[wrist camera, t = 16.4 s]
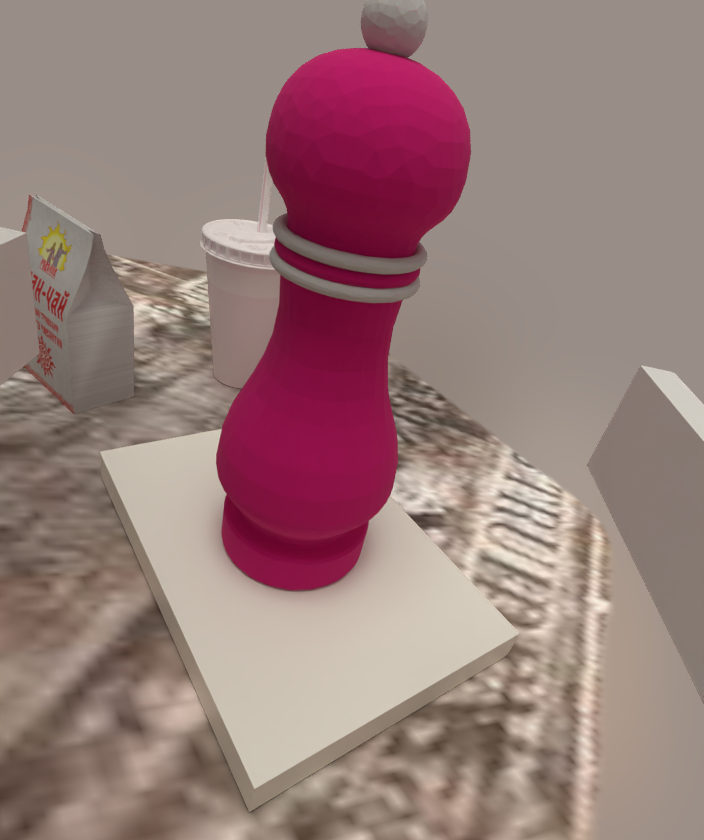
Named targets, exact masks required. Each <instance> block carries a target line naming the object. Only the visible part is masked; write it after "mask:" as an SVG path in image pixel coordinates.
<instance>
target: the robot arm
mask: <svg viewBox="0 0 704 840" xmlns="http://www.w3.org/2000/svg"><path fill="white" fill-rule="evenodd" d="M39 353H40V351H39V342H38V333H37V324H36V314H35V305H34V296H33V287H32V277H31V268H30V259H29V250H28V240H27V233H25V232H20V231H16V230H11V229H6V228H2V227H0V385H1V384H2V383H4V382H5V381H6V380H7V379H9V378H10V377H11V376H12V375H14V374H15V373H16V372H17V371H18V370H20V369H21V368H22V367H23V366H25V365H26V364H27V363H28V362H30V361H31V360H32V359H33V358H34V357H36V356H37V355H38V354H39ZM587 466H588V468H589V470H590V472H591V474H592V476H593V478H594V480H595V482H596V485H597V487H598V489H599V491H600V493H601V495H602V497H603V499H604V501H605V503H606V505H607V507H608V509H609V511H610V513H611V515H612V517H613V519H614V521H615V523H616V525H617V528H618V530H619V531H620V534H621V536H622V538H623V540H624V542H625V544H626V546H627V548H628V550H629V552H630V554H631V556H632V558H633V560H634V562H635V564H636V566H637V568H638V570H639V572H640V575H641V576H642V579H643V581H644V583H645V585H646V587H647V589H648V591H649V593H650V595H651V597H652V599H653V601H654V603H655V605H656V607H657V609H658V611H659V613H660V615H661V618H662V619H663V622H664V624H665V626H666V627H667V630H668V632H669V634H670V636H671V638H672V640H673V642H674V644H675V646H676V648H677V650H678V652H679V654H680V656H681V658H682V660H683V662H684V665H685V667H686V669H687V671H688V673H689V675H690V677H691V679H692V681H693V683H694V685H695V687H696V689H697V691H698V693H699V695H700V697H701V699H702V701H703V703H704V405H703V403H702V402H701V401H700V400H699V399H698V398H697V397H696V396H695V395H694V394H693V393H692V392H691V390H690V389H689V388H688V387H687V386H686V385H685V384H684V383H683V382H682V381H681V380H680V379H679V377H677V375H676V374H675V373H673V372H669V371H664V370H660V369H655V368H650V367H646V366H640V367H639V369H638V371H637V373H636V375H635V377H634V378H633V380H632V382H631V384H630V386H629V388H628V390H627V392H626V393H625V395H624V397H623V399H622V401H621V403H620V404H619V407H618V408H617V410H616V412H615V414H614V416H613V417H612V420H611V421H610V423H609V425H608V427H607V429H606V431H605V432H604V434H603V436H602V438H601V440H600V442H599V444H598V445H597V447H596V449H595V451H594V453H593V455H592V457H591V458H590V460H589V462H588V464H587Z"/></svg>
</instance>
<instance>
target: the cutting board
mask: <svg viewBox="0 0 704 840" xmlns="http://www.w3.org/2000/svg"><path fill="white" fill-rule="evenodd" d="M221 430H222V429H219V430H214V431H208V432H203V433H198V434H192V435H187V436H181V437H176V438H171V439H165V440H160V441H155V442H149V443H144V444H138V445H133V446H128V447H122V448H117V449H112V450H106V451H101V452H100V469H101V477H102V479H103V482H104V484H105V486H106V488H107V491H108V493H109V495H110V498H111V500H112V502H113V504H114V507H115V509H116V511H117V513H118V516H119V518H120V520H121V523H122V525H123V527H124V529H125V532H126V534H127V536H128V538H129V541H130V543H131V545H132V547H133V550H134V552H135V554H136V557H137V559H138V561H139V563H140V566H141V568H142V570H143V572H144V575H145V577H146V579H147V582H148V584H149V586H150V588H151V591H152V593H153V595H154V597H155V600H156V602H157V604H158V606H159V609H160V611H161V613H162V616H163V618H164V620H165V622H166V625H167V627H168V629H169V631H170V634H171V636H172V638H173V641H174V643H175V645H176V647H177V650H178V652H179V654H180V656H181V659H182V661H183V663H184V665H185V668H186V670H187V672H188V675H189V677H190V679H191V681H192V684H193V686H194V688H195V690H196V693H197V695H198V697H199V700H200V702H201V704H202V706H203V709H204V711H205V713H206V715H207V718H208V720H209V722H210V724H211V727H212V729H213V731H214V734H215V736H216V738H217V740H218V743H219V745H220V747H221V749H222V752H223V754H224V756H225V758H226V761H227V763H228V765H229V768H230V770H231V772H232V774H233V777H234V779H235V781H236V783H237V786H238V788H239V790H240V793H241V795H242V797H243V799H244V802H245V804H246V806H247V808H248V811H249V812H251V811H252V810H254V809H256V808H257V807H259V806H260V805H262V804H264V803H265V802H267V801H269V800H270V799H272V798H274V797H275V796H277V795H279V794H280V793H282V792H283V791H285V790H287V789H288V788H290V787H292V786H293V785H295V784H297V783H298V782H300V781H302V780H303V779H305V778H306V777H308V776H310V775H311V774H313V773H315V772H316V771H318V770H320V769H321V768H323V767H325V766H326V765H328V764H329V763H331V762H333V761H334V760H336V759H338V758H339V757H341V756H343V755H344V754H346V753H348V752H349V751H351V750H352V749H354V748H356V747H357V746H359V745H361V744H362V743H364V742H366V741H367V740H369V739H371V738H372V737H374V736H375V735H377V734H379V733H380V732H382V731H384V730H385V729H387V728H389V727H390V726H392V725H394V724H395V723H397V722H398V721H400V720H402V719H403V718H405V717H407V716H408V715H410V714H412V713H413V712H415V711H416V710H418V709H420V708H421V707H423V706H425V705H426V704H428V703H430V702H431V701H433V700H435V699H436V698H438V697H439V696H441V695H443V694H444V693H446V692H448V691H449V690H451V689H453V688H454V687H456V686H458V685H459V684H461V683H462V682H464V681H466V680H467V679H469V678H471V677H472V676H474V675H476V674H477V673H479V672H481V671H482V670H484V669H485V668H487V667H489V666H490V665H492V664H494V663H495V662H497V661H499V660H500V659H502V658H504V657H505V656H507V654H508V653H509V651H510V649H511V648H512V646H513V644H514V642H515V641H516V639H517V637H518V635H519V634H520V633H519V632H518V631H517V630H516V629H515V628H514V627H513V626H512V625H511V624H510V623H509V622H508V621H507V620H506V619H505V617H504V616H503V615H502V614H501V613H500V612H499V611H498V610H497V609H496V608H495V607H494V606H493V605H492V604H491V603H490V602H489V600H488V599H487V598H486V597H485V596H484V595H483V594H482V593H481V592H480V591H479V590H478V589H477V588H476V587H475V586H474V585H473V583H472V582H471V581H470V580H469V579H468V578H467V577H466V576H465V575H464V574H463V573H462V572H461V571H460V570H459V569H458V568H457V567H456V565H455V564H454V563H453V562H452V561H451V560H450V559H449V558H448V557H447V556H446V555H445V554H444V553H443V552H442V551H441V550H440V548H439V547H438V546H437V545H436V544H435V543H434V542H433V541H432V540H431V539H430V538H429V537H428V536H427V535H426V534H425V533H424V531H423V530H422V529H421V528H420V527H419V526H418V525H417V524H416V523H415V522H414V521H413V520H412V519H411V518H410V517H409V516H408V515H407V513H406V512H405V511H404V510H403V509H402V508H401V507H400V506H399V505H398V504H397V503H396V502H395V501H394V500H393V499H392V498H391V496H389V498H388V500H387V503H386V504H385V505H384V506H383V508H382V509H381V510H380V511H379V512H378V513H377V514H376V515H375V516H374V517H373V518H372V519H371V520H369V524H368V530H367V533H366V537H365V540H364V543H363V547H362V550H361V554H360V556H359V559H358V561H357V563H356V564H355V566H354V567H353V568H352V570H351V571H349V572H348V573H347V574H346V575H345V576H344V577H342V578H341V579H339V580H338V581H336V582H333V583H331V584H329V585H326V586H323V587H319V588H316V589H308V590H287V589H282V588H277V587H272V586H268V585H266V584H264V583H262V582H260V581H257V580H255V579H253V578H251V577H249V576H248V575H247V574H246V573H245V572H243V571H242V570H241V569H240V568H239V567H237V566H236V565H235V564H234V563H233V561H232V560H231V558H230V557H229V555H228V554H227V552H226V550H225V547H224V545H223V541H222V535H221V530H222V520H223V510H224V501H225V497H226V495H227V494H226V492H225V491H224V489H223V487H222V485H221V483H220V480H219V478H218V472H217V466H216V453H217V449H218V444H219V439H220V435H221Z"/></svg>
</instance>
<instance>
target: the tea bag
mask: <svg viewBox="0 0 704 840" xmlns="http://www.w3.org/2000/svg"><path fill="white" fill-rule="evenodd" d="M36 196H37V195H36ZM21 232H25V233H27V240H28V250H29V259H30V268H31V277H32V287H33V296H34V305H35V314H36V324H37V333H38V342H39V351H40V353H39V354H38V355H37V356H36V357H34V358H33V359H32V360H31V361H30V362H28V363H27V364H26V365H25V366H24V367H25V368H26V369H27V370H28V371H29V372H30V373H31V374H33V375H34V376H35V377H36V378H37V379H38V380H39V381H40V382H41V383H42V384H43V385H44V386H45V387H46V388H47V389H48V390H49V391H50V392H51V393H52V394H54V395H55V396H56V397H57V398H58V399H59V400H60V401H61V402H62V403H63V404H64V405H65V406H66V407H67V408H68V409H69V410H70V411H71V412H72V413H73V414H76V413H80V412H83V411H87V410H90V409H94V408H97V407H100V406H104V405H107V404H111V403H114V402H117V401H121V400H124V399H128V398H131V397H134V312H133V305H132V303H131V301H130V299H129V297H128V295H127V294H126V292H125V290H124V288H123V286H122V284H121V283H120V281H119V279H118V277H117V275H116V273H115V272H114V270H113V268H112V266H111V263H110V261H109V259H108V257H107V254H106V252H105V250H104V246H103V243H102V239H101V235H100V234H98V233H96V232H95V231H93V230H92V229H90V228H89V227H87V226H85V225H84V224H82V223H81V222H79V221H77V220H76V219H74V218H73V217H71V216H69V215H68V214H66V213H65V212H63V211H61V210H60V209H58V208H57V207H55V206H54V205H52V204H50V203H49V202H47V201H46V200H44V199H42V198H40V197H39V196H37V198H36V197H34V196H31V195H29V201H28V210H27V214H26V217H25V221H24V225H23V228H22V231H21Z"/></svg>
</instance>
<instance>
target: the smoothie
mask: <svg viewBox="0 0 704 840" xmlns="http://www.w3.org/2000/svg"><path fill="white" fill-rule="evenodd" d="M271 188H272V178H271V175H270V173H269V169H268V165H267V160H266V157H265V163H264V172H263V181H262V191H261V200H260V209H259V218H258V222H256V221H249V220H238V219H225V220H224V219H223V220H215V221H212V222H209V223H207V224H205V225H204V226H203V227H202V239H201V242H200V246H201V247H202V249H203V250H204V251H205V252H206V260H207V261H206V262H207V278H208V294H209V310H210V326H211V342H212V358H213V373H214V376H215V378H216V379H217V380H218V381H219V382H221V383H223V384H225V385H227V386H230V387H234V388H240V389H242V388H243V386H244V385H245V383H246V382H247V380H248V379H249V377H250V376H251V374H252V373H253V371H254V370H255V368H256V366H257V364H258V363H259V361H260V359H261V358H262V356H263V354H264V352H265V350H266V347H267V345H268V343H269V340H270V338H271V336H272V333H273V329H274V325H275V320H276V316H277V311H278V306H279V294H280V274H279V273H278V272H277V271H276V270H275V269H274V268H273V266H272V264H271V262H270V259H269V253H270V251H271V249H272V247H273V246H274V242H275V238H276V236H275V234H274V232H273V225H270V224H267V222H268V213H269V205H270V196H271Z"/></svg>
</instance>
